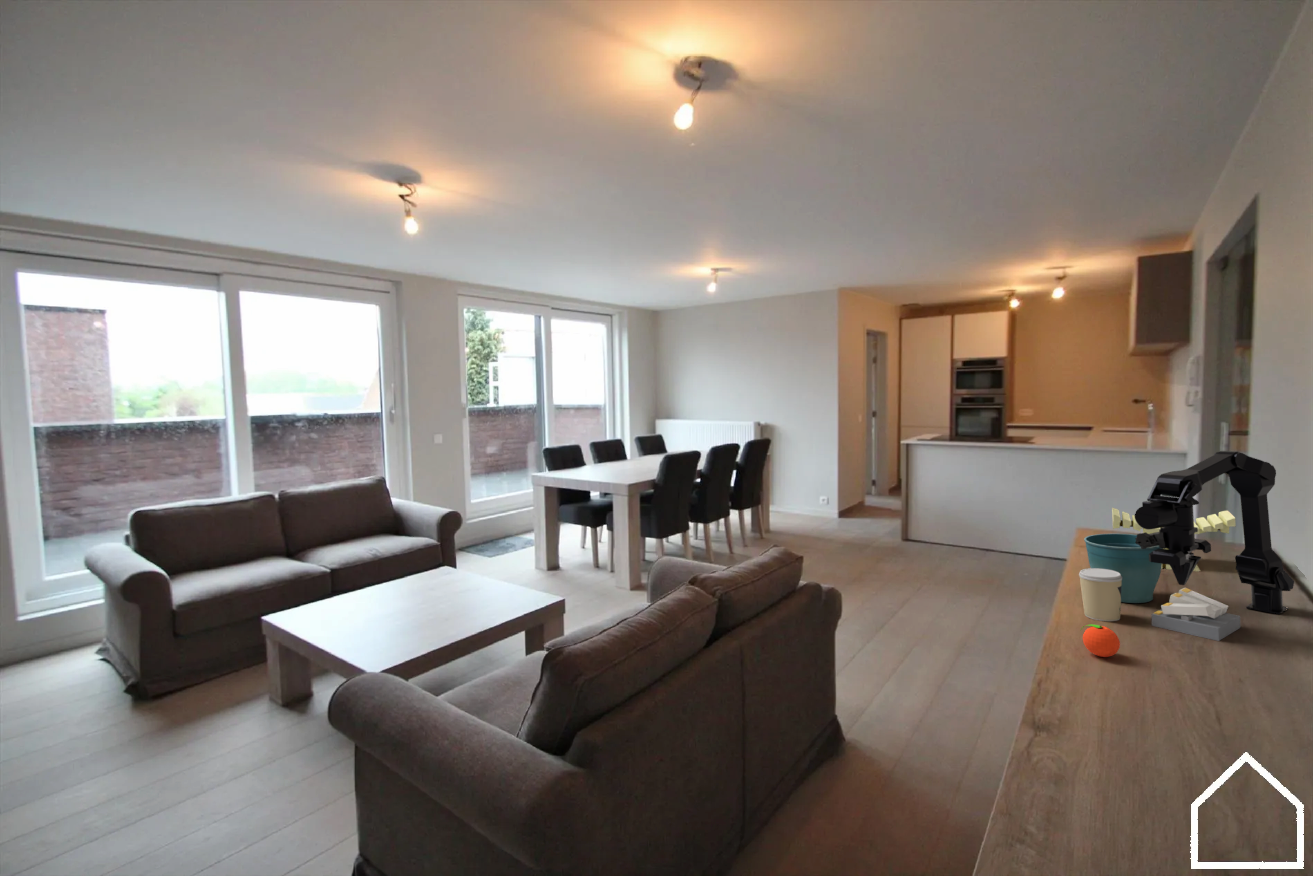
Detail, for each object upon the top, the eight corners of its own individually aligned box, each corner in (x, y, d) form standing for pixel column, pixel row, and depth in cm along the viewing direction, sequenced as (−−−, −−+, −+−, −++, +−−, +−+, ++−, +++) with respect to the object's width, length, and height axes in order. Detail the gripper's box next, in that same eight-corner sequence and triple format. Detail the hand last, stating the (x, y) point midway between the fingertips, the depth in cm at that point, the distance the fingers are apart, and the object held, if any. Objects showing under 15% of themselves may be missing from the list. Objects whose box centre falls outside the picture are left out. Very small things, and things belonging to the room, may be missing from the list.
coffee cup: (1131, 622, 154) (1129, 577, 153) (1091, 622, 156) (1089, 578, 155) (1112, 610, 163) (1110, 567, 163) (1074, 610, 165) (1072, 568, 164)
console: (1174, 613, 157) (1174, 599, 157) (1240, 627, 146) (1239, 611, 146) (1151, 625, 151) (1151, 610, 151) (1218, 641, 140) (1218, 624, 139)
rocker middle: (1174, 599, 153) (1176, 592, 152) (1219, 615, 145) (1221, 607, 145) (1169, 602, 151) (1170, 594, 151) (1214, 618, 144) (1216, 610, 143)
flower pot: (1097, 606, 167) (1094, 547, 166) (1079, 587, 183) (1076, 533, 183) (1177, 609, 160) (1175, 547, 159) (1151, 589, 177) (1148, 533, 176)
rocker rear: (1182, 594, 155) (1184, 587, 154) (1225, 612, 148) (1228, 605, 147) (1176, 596, 154) (1179, 589, 153) (1220, 615, 146) (1223, 608, 146)
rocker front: (1168, 611, 150) (1166, 602, 151) (1213, 613, 143) (1210, 604, 143) (1163, 613, 149) (1160, 605, 149) (1208, 615, 141) (1205, 606, 142)
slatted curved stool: (1227, 561, 196) (1225, 508, 196) (1237, 574, 184) (1235, 517, 183) (1114, 554, 214) (1111, 505, 214) (1115, 565, 201) (1113, 514, 201)
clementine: (1071, 652, 140) (1070, 623, 139) (1090, 645, 142) (1088, 617, 142) (1109, 664, 132) (1107, 633, 132) (1127, 657, 135) (1126, 627, 135)
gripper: (1156, 514, 160) (1160, 570, 160) (1122, 526, 151) (1126, 586, 151) (1210, 518, 150) (1213, 579, 151) (1177, 532, 141) (1180, 596, 142)
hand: (1182, 584), depth 149 cm, fingers closed
